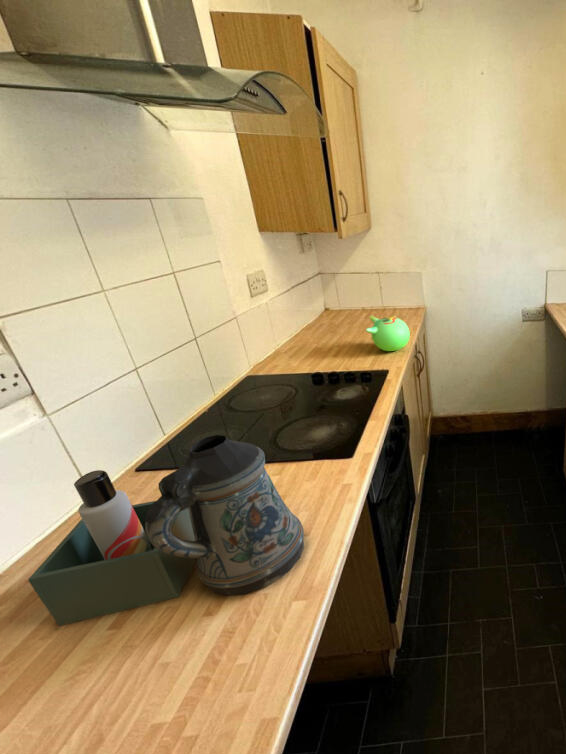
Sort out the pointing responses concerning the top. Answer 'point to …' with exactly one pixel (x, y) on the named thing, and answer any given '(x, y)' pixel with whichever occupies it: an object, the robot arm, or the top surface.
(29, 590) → the top surface
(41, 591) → the bin
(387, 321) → the green space hopper
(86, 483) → the lotion bottle
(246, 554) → the beer stein
